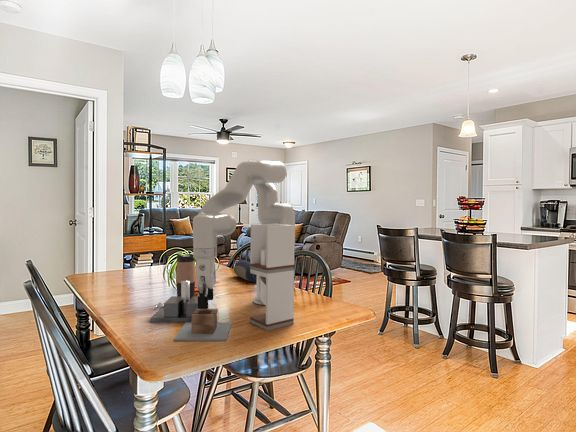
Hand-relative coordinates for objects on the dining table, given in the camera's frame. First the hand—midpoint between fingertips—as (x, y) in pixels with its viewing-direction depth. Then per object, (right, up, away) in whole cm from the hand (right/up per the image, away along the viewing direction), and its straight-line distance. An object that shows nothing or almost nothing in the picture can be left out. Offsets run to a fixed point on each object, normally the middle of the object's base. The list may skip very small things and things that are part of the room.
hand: (205, 304), depth 124 cm
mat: (0, -9, 0) cm, 9 cm away
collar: (0, -9, 0) cm, 9 cm away
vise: (-11, -8, +15) cm, 21 cm away
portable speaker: (+5, -7, +84) cm, 85 cm away
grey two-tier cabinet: (+21, -9, +10) cm, 25 cm away
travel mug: (-17, -8, +37) cm, 41 cm away
